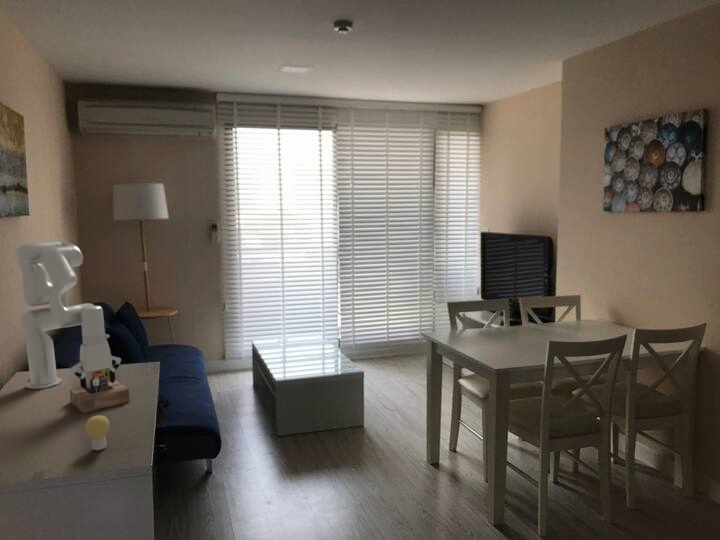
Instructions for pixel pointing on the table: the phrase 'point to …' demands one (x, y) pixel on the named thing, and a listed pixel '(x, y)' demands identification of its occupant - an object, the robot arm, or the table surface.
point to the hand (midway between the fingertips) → (98, 385)
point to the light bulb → (97, 431)
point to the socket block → (99, 397)
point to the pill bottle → (98, 382)
